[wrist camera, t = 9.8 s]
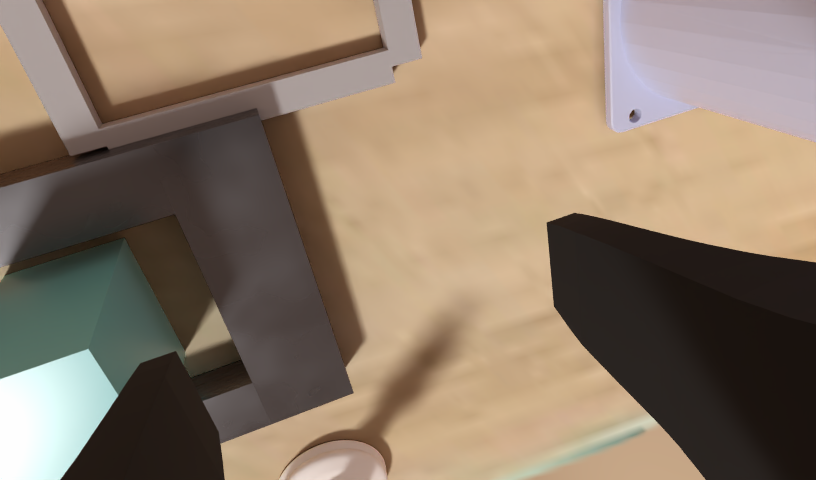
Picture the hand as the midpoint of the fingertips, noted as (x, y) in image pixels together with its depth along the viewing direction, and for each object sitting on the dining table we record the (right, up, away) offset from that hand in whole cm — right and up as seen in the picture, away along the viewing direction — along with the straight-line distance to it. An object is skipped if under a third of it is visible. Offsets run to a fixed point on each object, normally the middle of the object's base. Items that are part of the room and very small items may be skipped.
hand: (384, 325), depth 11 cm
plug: (-10, -1, +8) cm, 13 cm away
